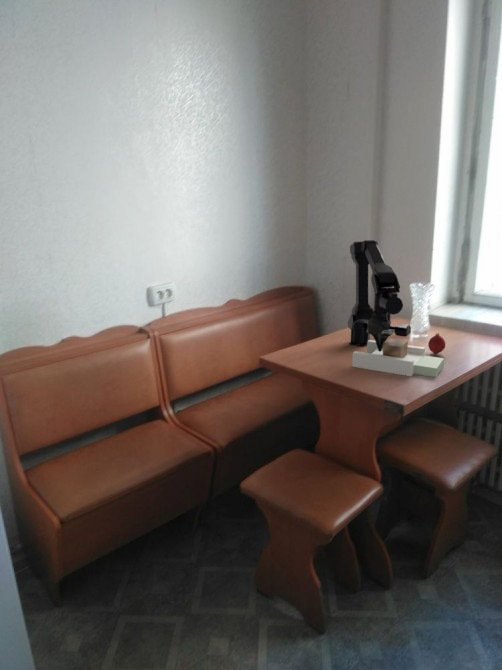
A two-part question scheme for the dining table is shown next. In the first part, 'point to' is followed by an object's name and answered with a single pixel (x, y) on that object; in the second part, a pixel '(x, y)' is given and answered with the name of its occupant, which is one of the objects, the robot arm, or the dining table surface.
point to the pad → (428, 366)
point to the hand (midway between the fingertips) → (380, 351)
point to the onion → (436, 344)
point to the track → (387, 360)
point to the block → (395, 348)
